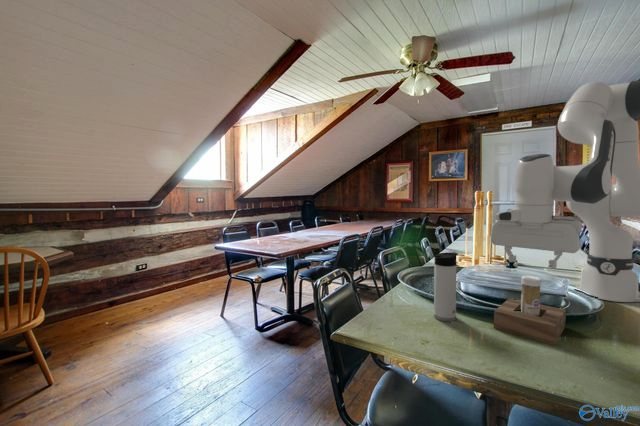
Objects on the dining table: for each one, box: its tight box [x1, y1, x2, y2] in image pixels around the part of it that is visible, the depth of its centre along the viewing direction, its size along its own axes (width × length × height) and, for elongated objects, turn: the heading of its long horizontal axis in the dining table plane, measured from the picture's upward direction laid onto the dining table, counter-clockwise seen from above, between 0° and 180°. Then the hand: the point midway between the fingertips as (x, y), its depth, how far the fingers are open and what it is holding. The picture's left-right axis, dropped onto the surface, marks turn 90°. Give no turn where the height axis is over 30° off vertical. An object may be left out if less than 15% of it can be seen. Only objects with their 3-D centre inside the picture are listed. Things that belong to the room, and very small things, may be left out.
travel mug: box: [433, 252, 459, 322], centre depth 97 cm, size 6×7×20 cm
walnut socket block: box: [493, 298, 567, 346], centre depth 89 cm, size 14×14×5 cm
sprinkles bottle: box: [520, 275, 542, 317], centre depth 89 cm, size 5×5×14 cm
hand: (531, 264), depth 88 cm, fingers open, 8 cm apart
